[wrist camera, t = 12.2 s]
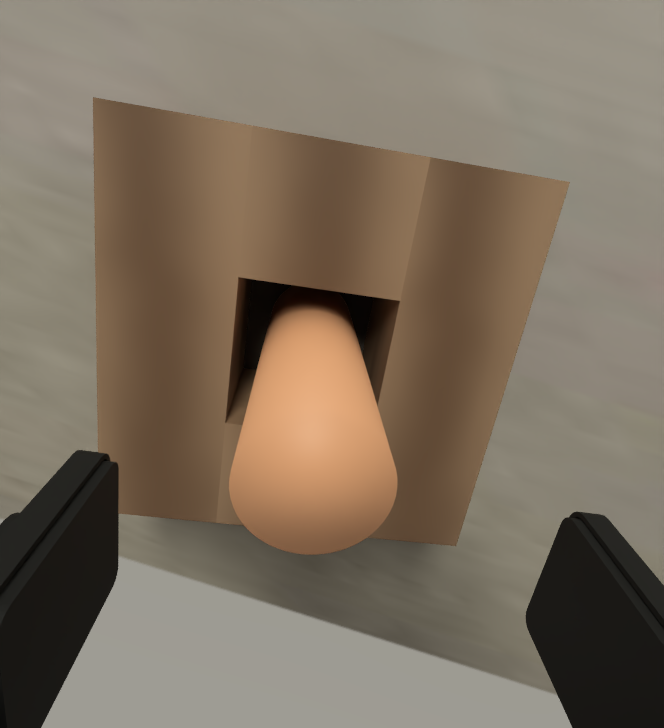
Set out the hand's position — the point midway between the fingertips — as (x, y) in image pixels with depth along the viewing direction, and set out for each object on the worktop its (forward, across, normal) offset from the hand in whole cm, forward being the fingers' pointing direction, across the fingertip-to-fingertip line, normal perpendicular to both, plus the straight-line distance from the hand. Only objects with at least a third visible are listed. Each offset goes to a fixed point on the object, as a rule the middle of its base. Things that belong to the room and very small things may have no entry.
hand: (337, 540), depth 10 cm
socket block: (+16, +1, 0) cm, 16 cm away
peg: (+16, +1, 0) cm, 16 cm away
